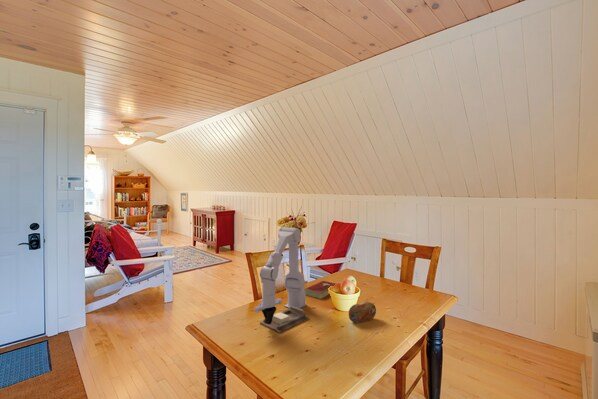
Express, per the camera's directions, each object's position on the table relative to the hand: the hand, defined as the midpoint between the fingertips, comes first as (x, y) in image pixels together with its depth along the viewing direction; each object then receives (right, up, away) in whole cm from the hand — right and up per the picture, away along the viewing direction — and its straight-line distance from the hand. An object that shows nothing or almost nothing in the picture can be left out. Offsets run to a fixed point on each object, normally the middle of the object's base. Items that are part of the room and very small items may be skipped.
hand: (268, 323), depth 130 cm
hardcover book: (+28, -2, +48) cm, 56 cm away
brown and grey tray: (+7, -2, +8) cm, 11 cm away
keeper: (+5, -2, +6) cm, 8 cm away
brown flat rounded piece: (+44, -3, +10) cm, 45 cm away
